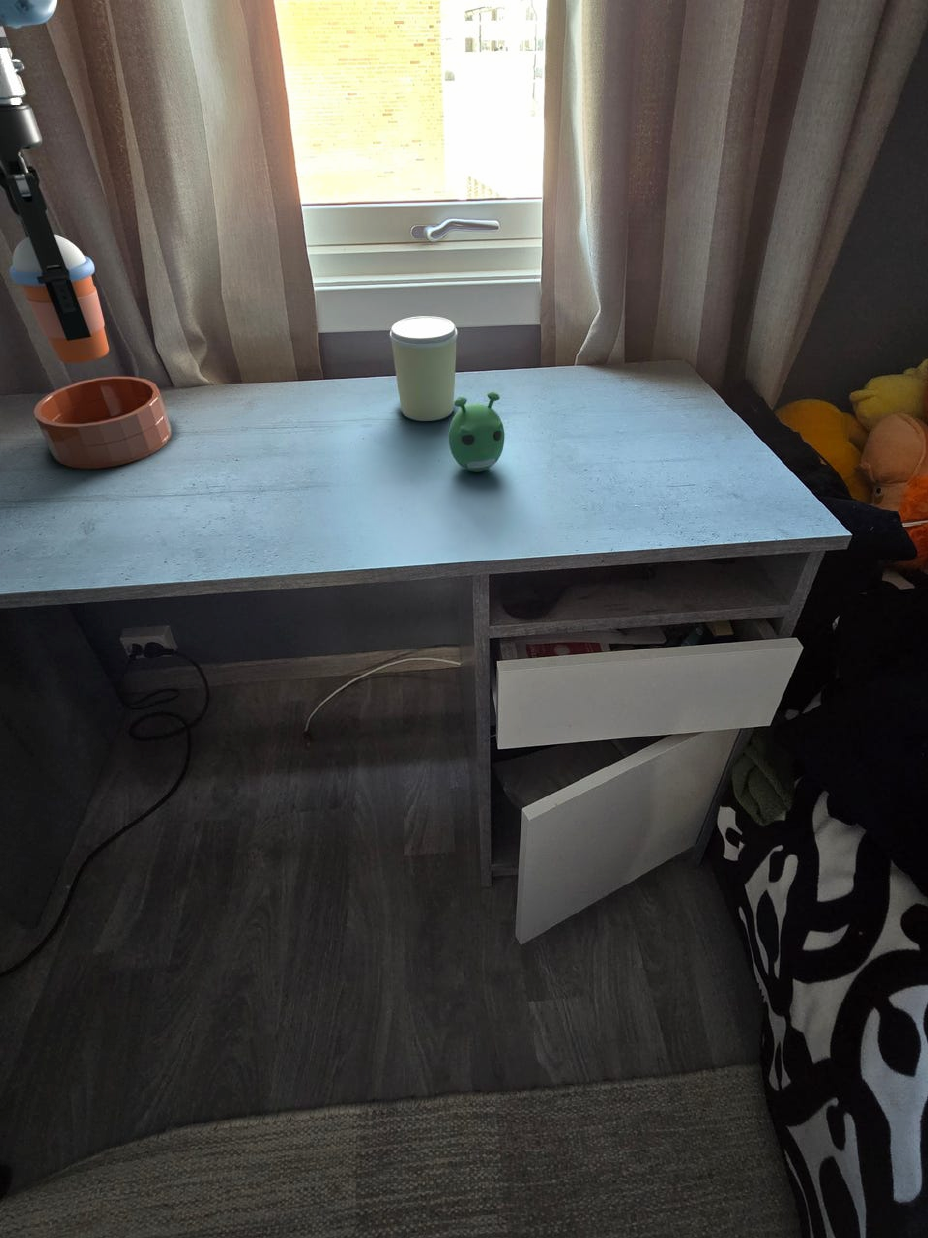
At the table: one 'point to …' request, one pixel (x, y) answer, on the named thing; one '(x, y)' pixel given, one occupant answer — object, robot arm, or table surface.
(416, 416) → the coffee cup
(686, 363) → the table surface
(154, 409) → the bowl
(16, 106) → the robot arm
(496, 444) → the alien toy
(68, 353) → the cup with straw
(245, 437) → the table surface
